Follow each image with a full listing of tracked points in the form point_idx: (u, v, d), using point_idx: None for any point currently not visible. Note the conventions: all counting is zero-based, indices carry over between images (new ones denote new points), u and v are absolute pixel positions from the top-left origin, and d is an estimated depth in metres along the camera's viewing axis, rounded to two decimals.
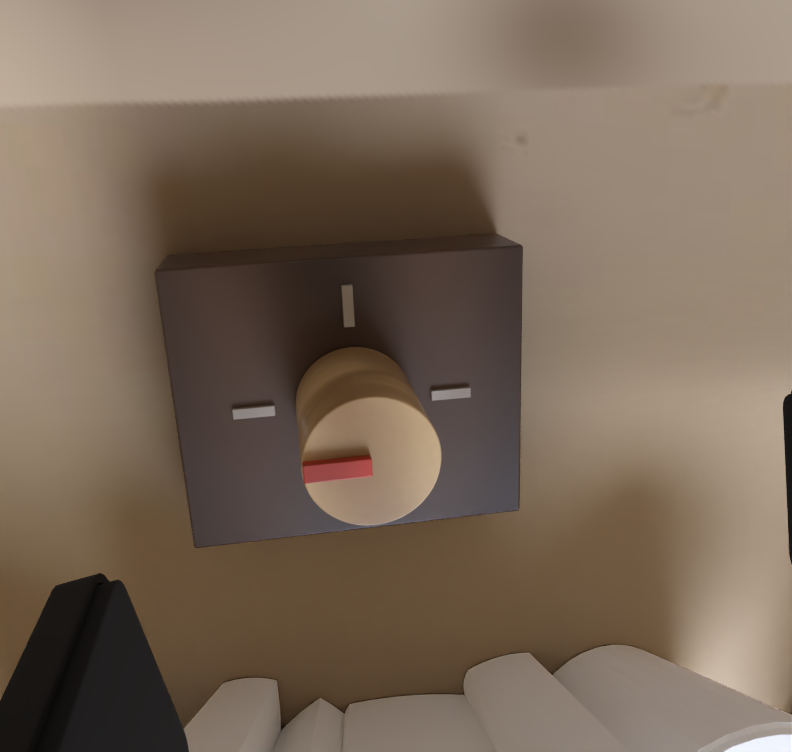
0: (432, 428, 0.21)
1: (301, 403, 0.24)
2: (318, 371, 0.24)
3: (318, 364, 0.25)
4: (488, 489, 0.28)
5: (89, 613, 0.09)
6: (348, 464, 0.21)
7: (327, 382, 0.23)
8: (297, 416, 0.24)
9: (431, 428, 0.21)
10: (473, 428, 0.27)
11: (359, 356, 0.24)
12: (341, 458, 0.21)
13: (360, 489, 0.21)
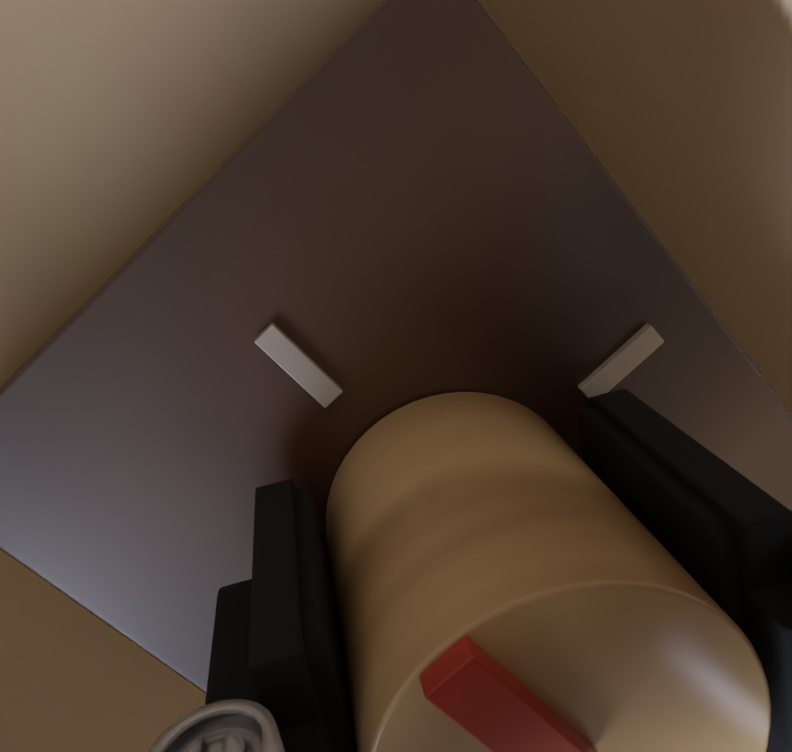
0: None
1: (446, 452, 0.09)
2: (504, 420, 0.10)
3: (495, 404, 0.11)
4: None
5: (295, 506, 0.10)
6: (556, 742, 0.07)
7: (563, 473, 0.09)
8: (406, 464, 0.09)
9: None
10: None
11: None
12: (540, 703, 0.07)
13: None
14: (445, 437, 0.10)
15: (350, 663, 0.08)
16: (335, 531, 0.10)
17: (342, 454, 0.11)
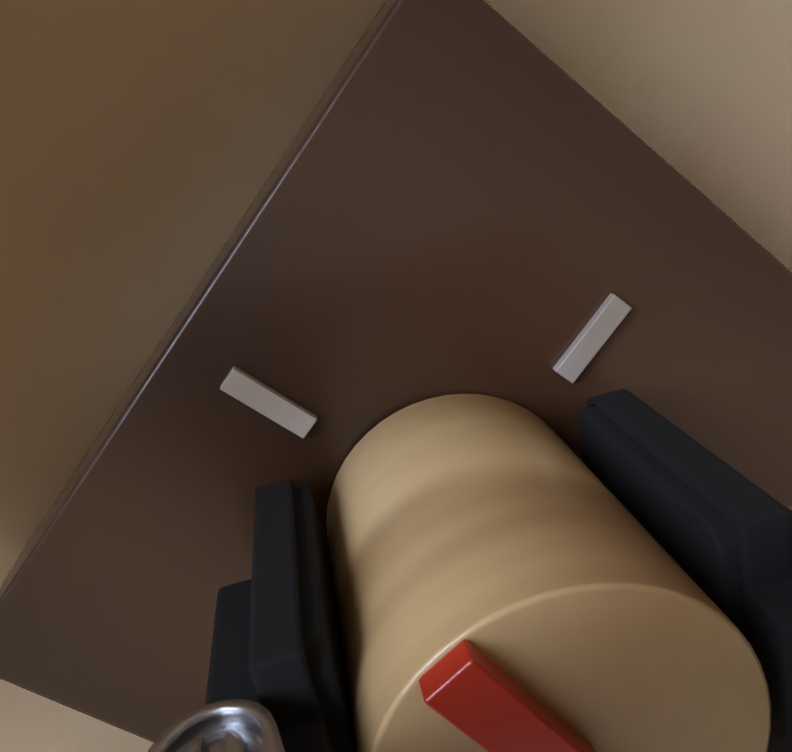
0: None
1: (446, 454, 0.09)
2: (504, 422, 0.10)
3: (494, 406, 0.11)
4: (64, 632, 0.11)
5: (295, 507, 0.10)
6: (556, 745, 0.07)
7: (562, 474, 0.09)
8: (406, 467, 0.09)
9: None
10: None
11: None
12: (540, 707, 0.07)
13: None
14: (444, 439, 0.10)
15: (350, 666, 0.08)
16: (335, 534, 0.10)
17: (503, 395, 0.11)
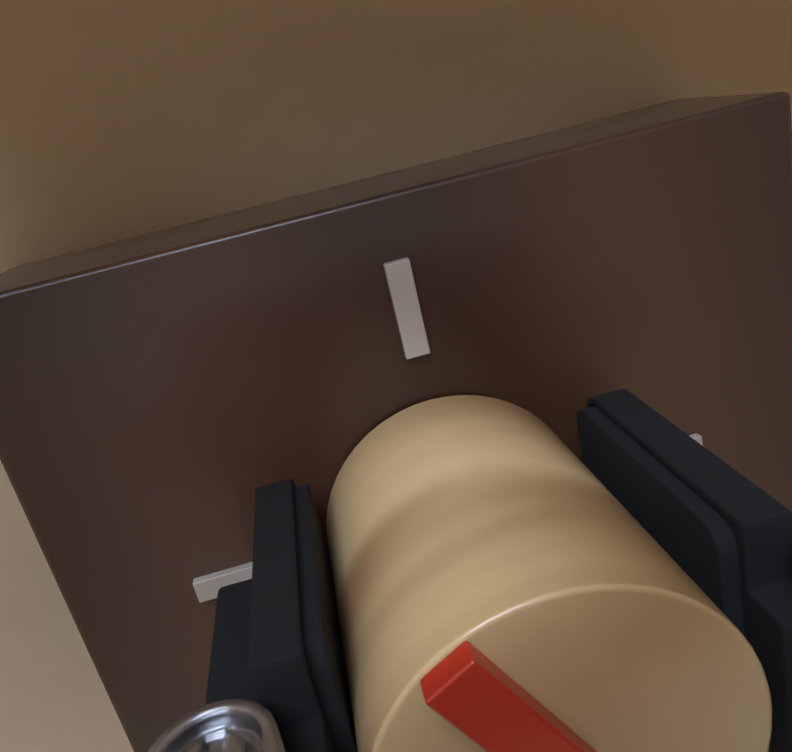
0: None
1: (446, 455, 0.09)
2: (504, 423, 0.10)
3: (495, 406, 0.11)
4: (56, 361, 0.10)
5: (296, 506, 0.10)
6: (557, 747, 0.07)
7: (563, 476, 0.09)
8: (406, 468, 0.09)
9: None
10: (157, 508, 0.11)
11: None
12: (541, 707, 0.07)
13: None
14: (445, 441, 0.10)
15: (351, 668, 0.08)
16: (336, 535, 0.10)
17: None
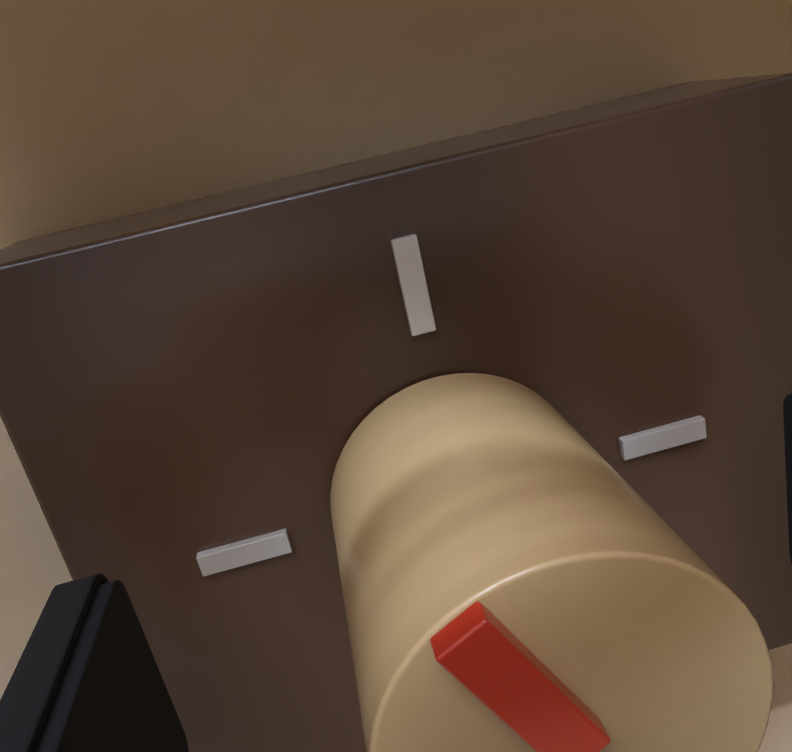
0: None
1: (457, 428, 0.09)
2: (514, 401, 0.10)
3: (504, 385, 0.11)
4: (62, 332, 0.10)
5: (90, 613, 0.09)
6: (563, 711, 0.07)
7: (573, 451, 0.09)
8: (416, 439, 0.09)
9: None
10: (161, 481, 0.11)
11: None
12: (547, 673, 0.07)
13: None
14: (455, 414, 0.10)
15: (356, 631, 0.08)
16: (341, 505, 0.10)
17: None
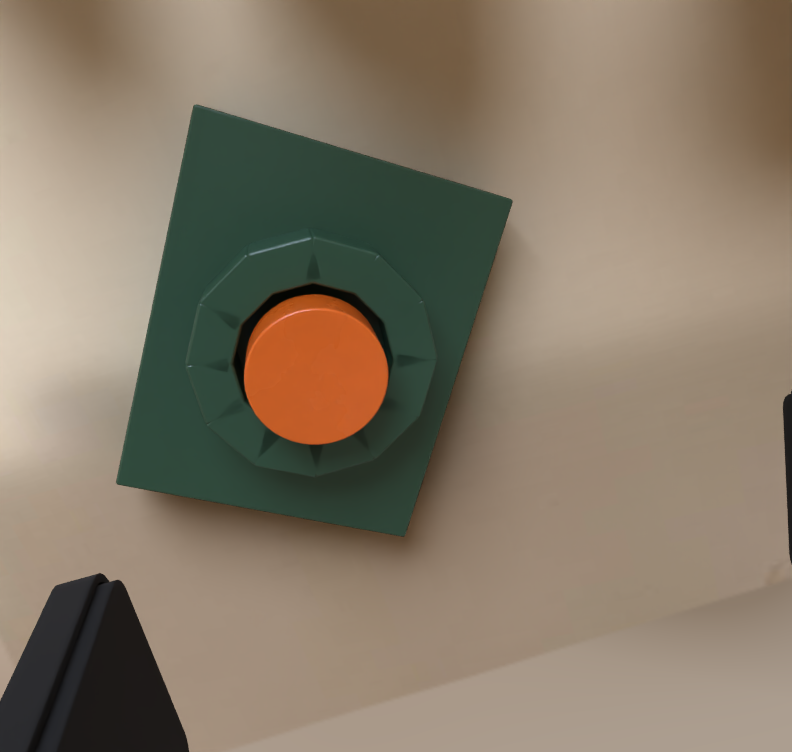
0: None
1: None
2: None
3: None
4: None
5: (89, 613, 0.09)
6: None
7: None
8: None
9: None
10: None
11: None
12: None
13: None
14: None
15: None
16: None
17: None
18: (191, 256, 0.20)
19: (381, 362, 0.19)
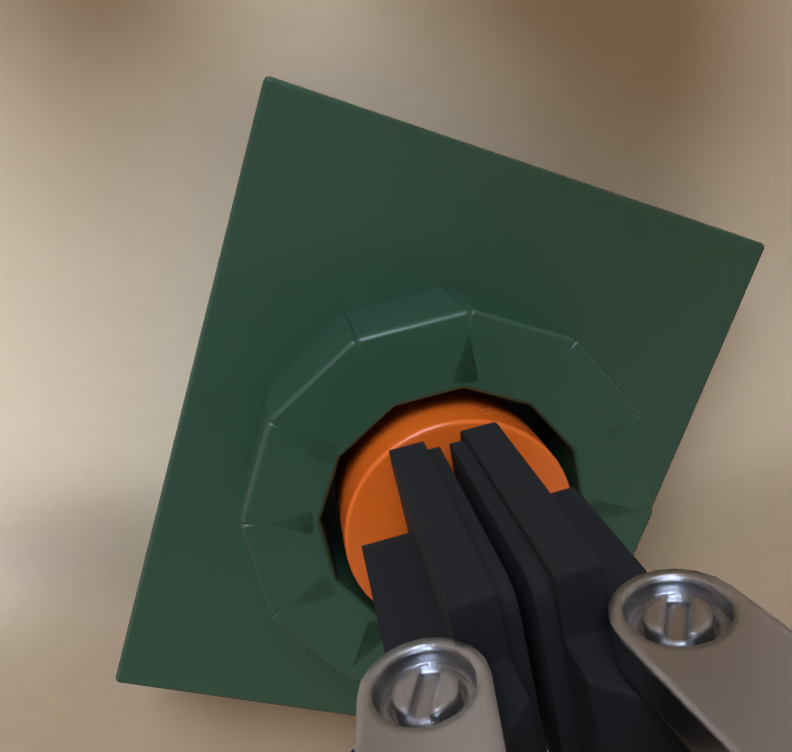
0: None
1: None
2: None
3: None
4: None
5: None
6: None
7: None
8: None
9: None
10: None
11: None
12: None
13: None
14: None
15: None
16: None
17: None
18: (250, 331, 0.12)
19: None
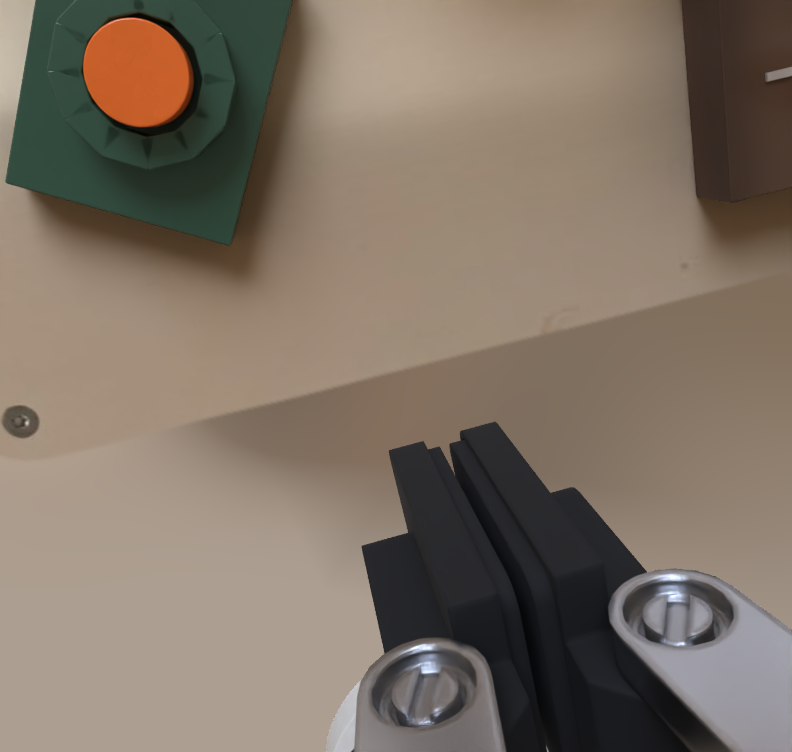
0: None
1: None
2: None
3: None
4: None
5: None
6: None
7: None
8: None
9: None
10: (760, 42, 0.32)
11: None
12: None
13: None
14: None
15: None
16: None
17: None
18: (57, 0, 0.28)
19: (183, 64, 0.27)
